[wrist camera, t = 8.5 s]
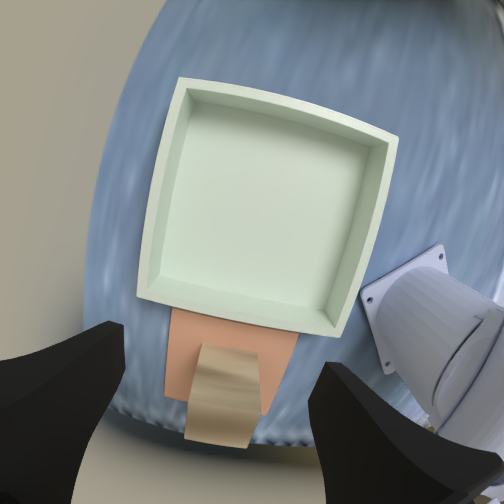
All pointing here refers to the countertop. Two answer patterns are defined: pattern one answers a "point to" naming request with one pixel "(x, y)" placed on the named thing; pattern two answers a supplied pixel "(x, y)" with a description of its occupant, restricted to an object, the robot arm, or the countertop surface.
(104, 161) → the countertop surface
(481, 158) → the countertop surface
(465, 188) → the countertop surface
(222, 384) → the birch block
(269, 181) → the pale green bin
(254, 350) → the terracotta tile
